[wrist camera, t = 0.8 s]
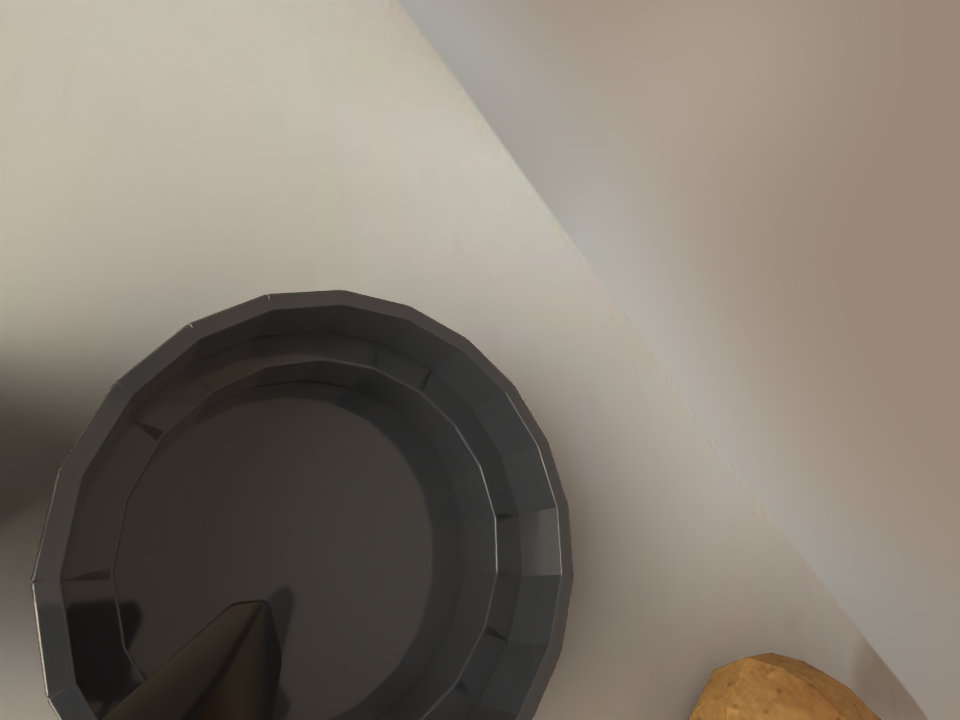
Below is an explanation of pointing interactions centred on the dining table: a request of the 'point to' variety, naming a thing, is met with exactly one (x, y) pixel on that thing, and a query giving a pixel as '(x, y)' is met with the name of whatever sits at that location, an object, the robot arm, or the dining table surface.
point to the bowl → (312, 518)
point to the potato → (776, 693)
